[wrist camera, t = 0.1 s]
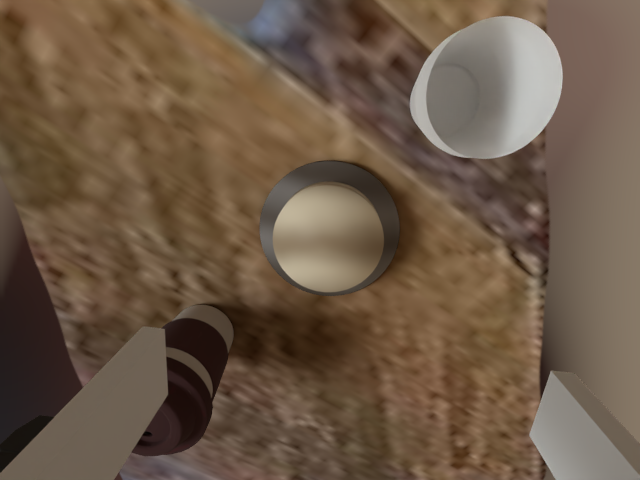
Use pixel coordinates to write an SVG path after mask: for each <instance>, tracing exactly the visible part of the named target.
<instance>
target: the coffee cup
mask: <svg viewBox="0 0 640 480" xmlns="http://www.w3.org/2000/svg"><path fill="white" fill-rule="evenodd" d="M161 329H165V344H166V363H167V383H168V395H167V397H166V398H165V400H164V402H163V403H162V405H161V406H160V408H159V409H158V411H157V413H156V414H155V416H154V417H153V419H152V420H151V422H150V424H149V425H148V427H147V428H146V430H145V431H144V433H143V435H142V436H141V438H140V439H139V441H138V442H137V444H136V446H135V447H134V449H133V450H132V453H135V454H138V455H143V456H158V455H167V454H174V453H178V452H182V451H184V450H186V449H189V448H190V447H192V446H193V445H195V444H196V443H197V442H198V441H199V440H200V439H201V437H202V436H203V434H204V433H205V430H206V428H207V426H208V424H209V421H210V419H211V415H212V408H213V405H212V401H213V399H214V397H215V394H216V391H217V388H218V386H219V383H220V380H221V377H222V375H223V372H224V369H225V366H226V364H227V360H228V353H229V350H230V347H231V345H232V342H233V337H234V332H233V327H232V324H231V322H230V320H229V319H228V317H227V316H226V315H225V314H224V313H223V312H221V311H220V310H218V309H217V308H214V307H212V306H208V305H194V306H191V307H188V308H186V309H185V310H183V311H182V312H181V313H180V314H179V315H178V316H177V317H176V318H175V319H174V320H172V321H171V322H169V323H168V324H166V325H165V326H163V327H162V328H161Z"/></svg>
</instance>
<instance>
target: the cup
mask: <svg viewBox="0 0 640 480" xmlns="http://www.w3.org/2000/svg"><path fill="white" fill-rule="evenodd" d="M562 73H563V71H562V65H561V60H560V56H559V54H558V51H557V49H556V47H555V45H554V43H553V42H552V40H551V39H550V38H549V36H548V35H547V34H546V33H545V32H544V31H543V30H542V29H540V28H539V27H538V26H536V25H535V24H533V23H531V22H529V21H527V20H524V19H521V18H516V17H509V16H498V17H491V18H487V19H484V20H481V21H478V22H476V23H474V24H472V25H470V26H468V27H466V28H465V29H462V30H460V31H458V32H456V33H454V34H453V35H451V36H449V37H448V38H447V39H445V40H444V41H443V42H442V43H441V44H440V45H439V46H438V47H437V48H436V49H435V50H434V51H433V52H432V53H431V55H430V56H429V57H428V59H427V60H426V62H425V63H424V65H423V67H422V69H421V71H420V74H419V76H418V78H417V80H416V83H415V85H414V87H413V90H412V93H411V98H410V110H411V114H412V117H413V119H414V121H415V123H416V124H417V126H418V127H419V128H420V129H421V131H422V132H423V133H424V134H425V136H426V137H427V138H428V139H429V140H430V141H431V142H432V143H433V144H434V145H435V146H437V147H438V148H440V149H441V150H443V151H445V152H447V153H449V154H452V155H455V156H459V157H466V158H480V159H489V158H497V157H501V156H505V155H508V154H510V153H513V152H515V151H517V150H519V149H521V148H522V147H524V146H525V145H527V144H528V143H530V142H531V141H532V140H533V139H534V138H535V137H537V136H538V135H539V133H540V132H541V131H542V130H543V129H544V128H545V126H546V125H547V124H548V122H549V121H550V119H551V117H552V116H553V114H554V112H555V110H556V107H557V105H558V102H559V99H560V95H561V90H562V81H563V74H562Z"/></svg>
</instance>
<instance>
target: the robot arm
mask: <svg viewBox="0 0 640 480" xmlns="http://www.w3.org/2000/svg"><path fill="white" fill-rule="evenodd" d="M167 395H168V383H167V363H166V344H165V329H161V328H152V327H142V328H141V329H140V330H139V331H138V332H137V333H136V334H135V335H134V336H133V337H132V338H131V339H130V340H129V341H128V342H127V343H126V344H125V345H124V346H123V347H122V349H121V350H120V351H119V352H118V353H117V354H116V355H115V356H114V357H113V358H112V359H111V360H110V361H109V362H108V363H107V364H106V365H105V366H104V367H103V368H102V369H101V370H100V371H99V372H98V373H97V374H96V375H95V376H94V377H93V378H92V379H91V380H90V381H89V382H88V383H87V384H86V385H85V387H84V388H83V389H82V390H81V391H80V392H79V393H78V394H77V395H76V396H75V397H74V398H73V399H72V400H71V401H70V402H69V403H68V404H67V405H66V406H65V407H64V408H63V409H62V410H61V411H60V412H59V413H58V414H57V415H56V416H55V417H49V416H41V415H40V416H38V417H36V418H35V419H33V420H31V421H30V422H28V423H26V424H25V425H23V426H22V427H20V428H18V429H17V430H15V431H14V432H13V433H12V434H11V435H10V436H9V437H8V438H7V439H6V440H5V441H4V442H2V443H1V444H0V480H114V478H115V477H116V475H117V474H118V472H119V471H120V469H121V467H122V466H123V464H124V463H125V461H126V460H127V458H128V457H129V455H130V453H131V452H132V450H133V449H134V447H135V446H136V444H137V442H138V441H139V439H140V438H141V436H142V435H143V433H144V431H145V430H146V428H147V427H148V425H149V424H150V422H151V420H152V419H153V417H154V416H155V414H156V413H157V411H158V409H159V408H160V406H161V405H162V403H163V402H164V400H165V398H166V397H167ZM530 437H531V439H532V440H533V442H534V444H535V445H536V447H537V449H538V450H539V452H540V454H541V455H542V457H543V459H544V460H545V462H546V464H547V465H548V467H549V469H550V470H551V472H552V474H553V475H554V477H555V479H556V480H640V443H639V442H638V441H637V440H636V439H635V438H634V437H633V436H632V435H631V434H630V433H629V432H628V431H627V430H626V428H625V427H624V426H623V425H622V424H621V423H620V422H619V421H618V420H617V419H616V418H615V416H613V414H612V413H611V412H610V411H609V410H608V409H607V408H606V407H605V406H604V405H603V404H602V402H601V401H600V400H599V399H598V398H597V397H596V396H595V395H594V394H593V393H592V392H591V391H590V390H589V388H588V387H587V386H586V385H585V384H584V383H583V382H582V381H581V380H580V379H579V378H578V377H577V376H576V375H575V373H568V372H558V371H551V373H550V376H549V379H548V382H547V384H546V387H545V390H544V394H543V396H542V399H541V402H540V405H539V408H538V411H537V414H536V417H535V420H534V423H533V426H532V429H531V432H530Z"/></svg>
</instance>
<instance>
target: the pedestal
mask: <svg viewBox="0 0 640 480" xmlns="http://www.w3.org/2000/svg"><path fill="white" fill-rule="evenodd" d="M399 233H400V225H399V217H398V212H397V209H396V206H395V204H394V202H393V200H392V198H391V196H390V194H389V193H388V191H387V190H386V188H385V187H384V186H383V185H382V184H381V183H380V181H379V180H378V179H376V178H375V177H374V176H373V175H372V174H370V173H369V172H367V171H365V170H364V169H362V168H360V167H357V166H355V165H353V164H349V163H346V162H340V161H318V162H313V163H310V164H306V165H304V166H301V167H299V168H297V169H295V170H293V171H292V172H290V173H289V174H287V175H286V176H285V177H284V178H282V179H281V180H280V181H279V182H278V183H277V185H276V186H275V187H274V188H273V190H272V191H271V192H270V194H269V196H268V197H267V199H266V201H265V204H264V206H263V209H262V213H261V217H260V238H261V244H262V247H263V250H264V253H265V255H266V257H267V259H268V261H269V262H270V264H271V265H272V267H273V268H274V269H275V271H276V272H277V273H278V274H279V275H280V276H281V277H282V278H283V279H284V280H286V281H287V282H288V283H290V284H291V285H293V286H295V287H297V288H298V289H301V290H303V291H306V292H309V293H312V294H317V295H323V296H337V295H344V294H349V293H352V292H355V291H358V290H360V289H362V288H364V287H366V286H367V285H369V284H371V283H372V282H373V281H375V280H376V279H377V278H378V277H379V276H380V275H381V274H382V273H383V272H384V271H385V270H386V268H387V267H388V265H389V264H390V262H391V261H392V259H393V257H394V255H395V252H396V249H397V246H398V241H399Z"/></svg>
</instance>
